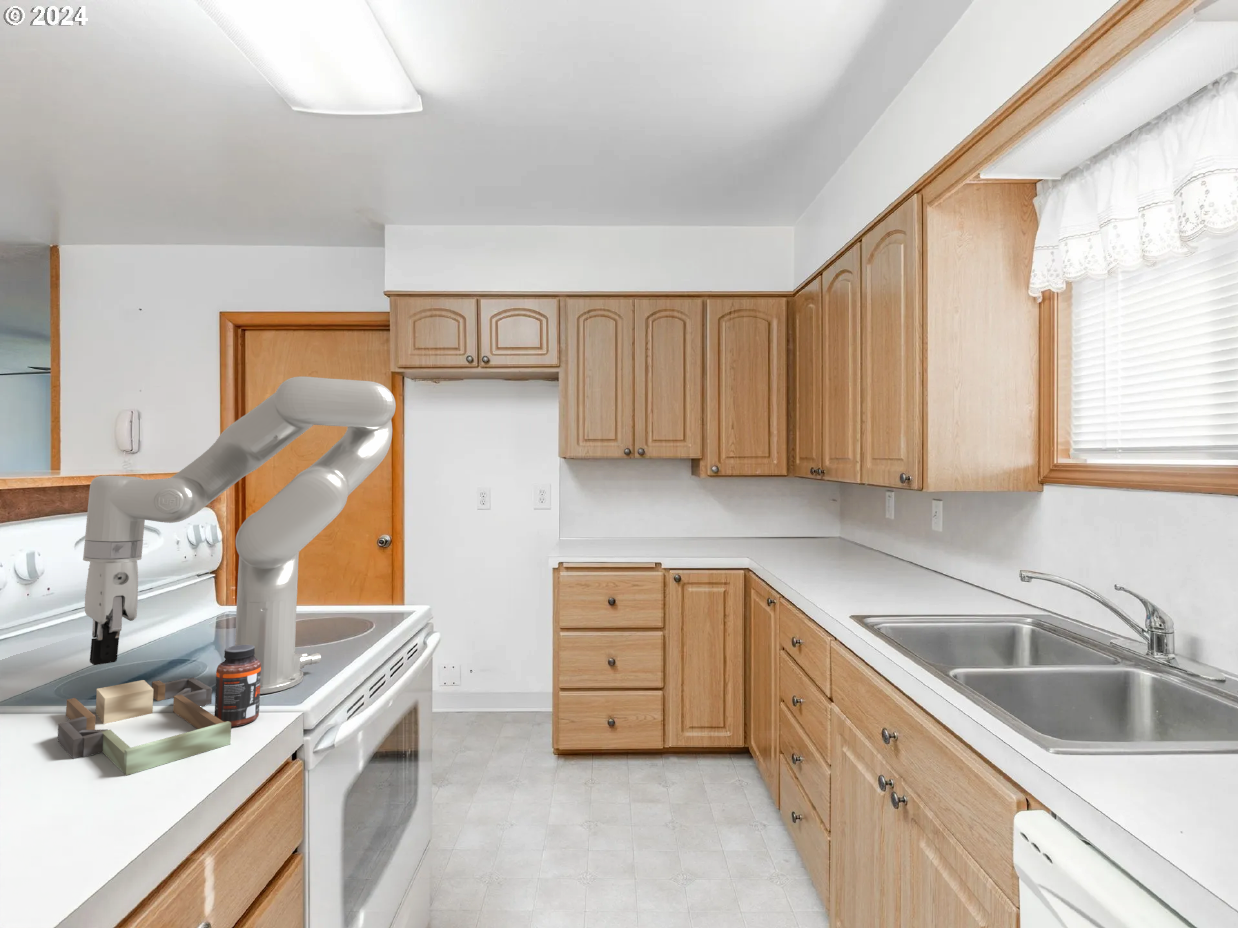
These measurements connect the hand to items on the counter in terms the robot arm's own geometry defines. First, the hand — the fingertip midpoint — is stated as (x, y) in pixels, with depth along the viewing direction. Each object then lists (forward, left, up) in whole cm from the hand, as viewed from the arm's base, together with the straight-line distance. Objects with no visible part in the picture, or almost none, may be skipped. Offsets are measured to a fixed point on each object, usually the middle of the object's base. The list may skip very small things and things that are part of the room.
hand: (103, 662), depth 102 cm
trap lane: (-1, +18, -7) cm, 19 cm away
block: (-1, +8, -7) cm, 11 cm away
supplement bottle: (-11, +24, -7) cm, 27 cm away
